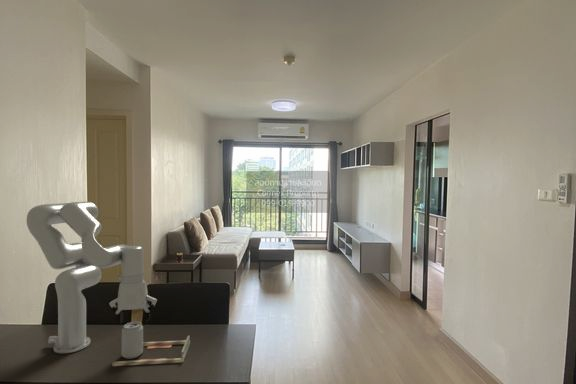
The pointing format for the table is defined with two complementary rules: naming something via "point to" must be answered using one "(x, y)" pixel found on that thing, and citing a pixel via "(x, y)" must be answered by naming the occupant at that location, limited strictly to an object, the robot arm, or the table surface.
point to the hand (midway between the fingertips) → (133, 322)
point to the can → (132, 340)
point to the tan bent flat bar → (161, 360)
